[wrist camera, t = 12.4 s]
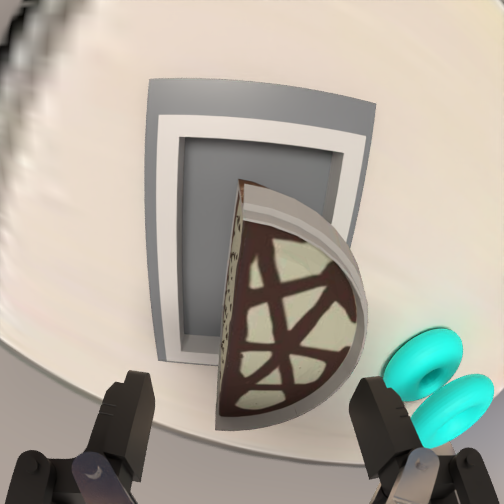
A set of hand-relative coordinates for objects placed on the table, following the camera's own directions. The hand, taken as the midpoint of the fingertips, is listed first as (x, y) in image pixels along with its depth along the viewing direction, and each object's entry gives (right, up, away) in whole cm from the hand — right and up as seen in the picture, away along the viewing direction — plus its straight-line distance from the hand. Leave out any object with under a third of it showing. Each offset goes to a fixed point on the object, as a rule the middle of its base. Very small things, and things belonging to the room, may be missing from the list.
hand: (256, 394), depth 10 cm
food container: (+1, +5, +10) cm, 12 cm away
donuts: (+18, -6, +18) cm, 26 cm away
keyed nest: (0, +6, +11) cm, 12 cm away
